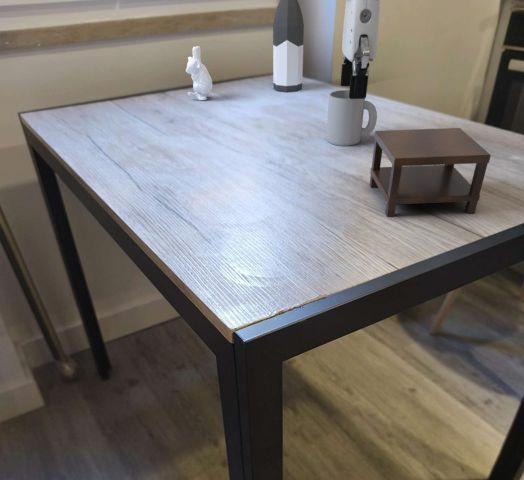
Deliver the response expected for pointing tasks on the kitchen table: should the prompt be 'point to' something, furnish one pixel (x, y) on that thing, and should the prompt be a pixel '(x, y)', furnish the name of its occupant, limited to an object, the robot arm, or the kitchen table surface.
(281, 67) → the wine bottle
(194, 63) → the white upright figurine
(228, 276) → the kitchen table surface
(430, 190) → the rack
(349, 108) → the cup
